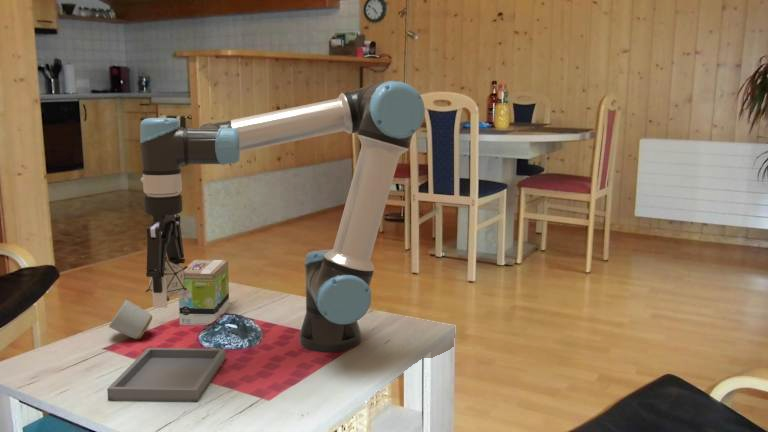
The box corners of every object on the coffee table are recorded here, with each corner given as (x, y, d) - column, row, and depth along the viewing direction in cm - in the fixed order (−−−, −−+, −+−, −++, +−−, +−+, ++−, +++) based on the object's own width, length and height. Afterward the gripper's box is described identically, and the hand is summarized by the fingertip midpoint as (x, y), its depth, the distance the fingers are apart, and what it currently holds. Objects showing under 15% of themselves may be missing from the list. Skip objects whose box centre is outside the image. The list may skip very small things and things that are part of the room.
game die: (149, 310, 140) (146, 262, 138) (142, 299, 147) (139, 253, 145) (194, 304, 144) (192, 257, 142) (185, 293, 151) (183, 249, 149)
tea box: (217, 327, 181) (214, 272, 178) (178, 327, 181) (175, 272, 178) (230, 309, 195) (228, 258, 193) (195, 309, 196) (192, 258, 193)
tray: (225, 359, 159) (225, 349, 159) (197, 401, 138) (196, 390, 137) (148, 358, 160) (147, 347, 159) (108, 400, 138) (107, 388, 138)
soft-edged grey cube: (136, 347, 171) (148, 327, 168) (105, 332, 169) (116, 312, 165) (150, 319, 180) (161, 300, 177) (120, 305, 178) (132, 285, 174)
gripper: (162, 186, 152) (167, 285, 156) (123, 202, 131) (130, 316, 135) (196, 186, 152) (200, 286, 156) (163, 202, 131) (168, 316, 135)
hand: (168, 299), depth 145 cm, fingers closed on game die, 9 cm apart
